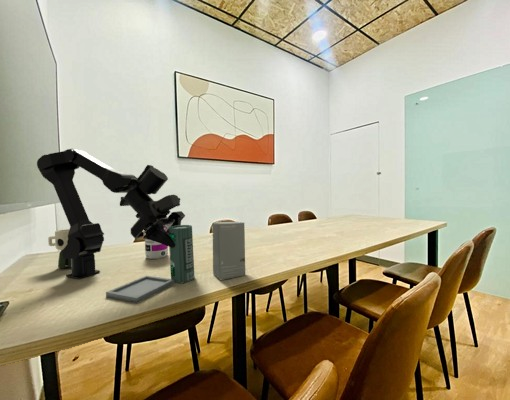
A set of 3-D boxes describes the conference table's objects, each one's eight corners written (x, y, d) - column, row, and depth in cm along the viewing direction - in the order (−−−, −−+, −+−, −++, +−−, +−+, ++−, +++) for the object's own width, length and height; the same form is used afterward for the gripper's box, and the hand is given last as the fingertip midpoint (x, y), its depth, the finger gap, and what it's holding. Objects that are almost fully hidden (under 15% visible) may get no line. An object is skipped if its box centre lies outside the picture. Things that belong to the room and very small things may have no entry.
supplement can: (171, 253, 96) (170, 217, 96) (161, 259, 88) (160, 220, 87) (152, 253, 97) (151, 218, 96) (141, 259, 89) (139, 220, 88)
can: (179, 274, 70) (176, 224, 69) (197, 275, 68) (195, 225, 67) (167, 282, 64) (164, 228, 63) (187, 283, 62) (184, 228, 61)
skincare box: (219, 281, 64) (218, 224, 63) (212, 273, 70) (210, 221, 70) (247, 275, 68) (245, 221, 67) (237, 269, 74) (236, 219, 74)
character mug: (45, 272, 76) (43, 232, 75) (53, 266, 82) (51, 230, 82) (86, 267, 80) (84, 229, 80) (90, 262, 87) (89, 227, 86)
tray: (106, 297, 55) (105, 292, 55) (146, 279, 66) (146, 275, 66) (136, 303, 52) (136, 298, 52) (174, 283, 63) (174, 279, 63)
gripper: (138, 184, 57) (181, 228, 55) (178, 186, 75) (211, 220, 73) (112, 216, 59) (153, 260, 57) (157, 210, 77) (189, 244, 75)
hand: (180, 243), depth 65 cm, fingers closed on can, 6 cm apart
